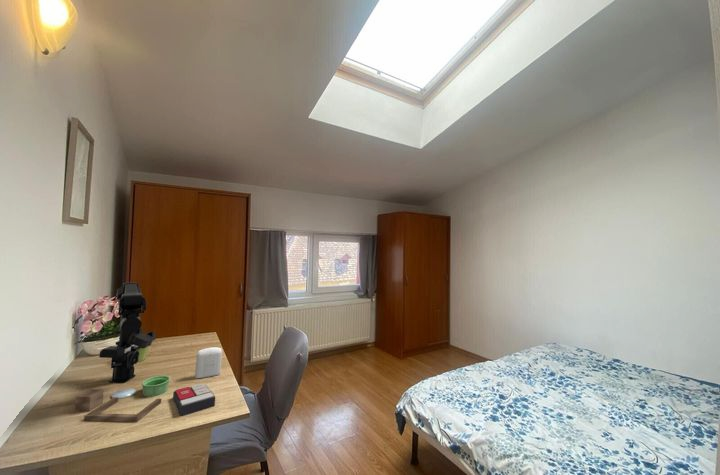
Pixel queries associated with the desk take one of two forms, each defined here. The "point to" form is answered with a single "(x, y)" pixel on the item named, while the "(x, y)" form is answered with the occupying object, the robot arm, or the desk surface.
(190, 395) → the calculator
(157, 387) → the ramekin
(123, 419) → the bay
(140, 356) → the plant pot
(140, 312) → the robot arm
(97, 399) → the walnut block
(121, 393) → the pale grey dome
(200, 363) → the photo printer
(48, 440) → the desk surface
